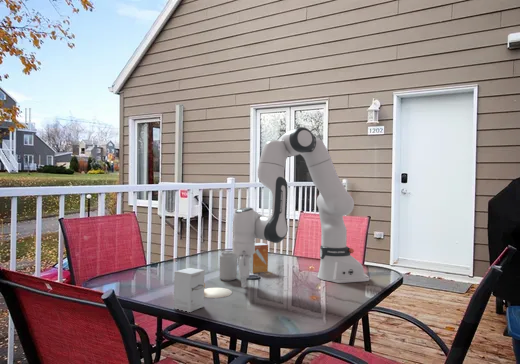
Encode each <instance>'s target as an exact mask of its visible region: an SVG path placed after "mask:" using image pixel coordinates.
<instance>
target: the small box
mask: <svg viewBox="0 0 520 364" xmlns="http://www.w3.org/2000/svg"><path fill="white" fill-rule="evenodd" d="M251 256H252V257H251V258H249V273H251V274H258V273H259V274H260V273H268V271H269V244H267V243H265V242H255V253H254V254H252V255H251Z"/></svg>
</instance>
